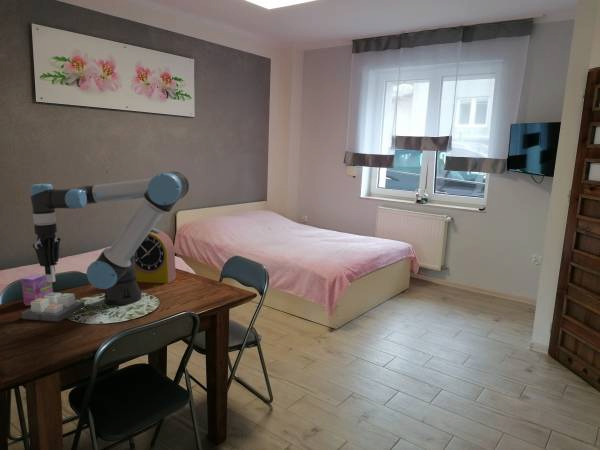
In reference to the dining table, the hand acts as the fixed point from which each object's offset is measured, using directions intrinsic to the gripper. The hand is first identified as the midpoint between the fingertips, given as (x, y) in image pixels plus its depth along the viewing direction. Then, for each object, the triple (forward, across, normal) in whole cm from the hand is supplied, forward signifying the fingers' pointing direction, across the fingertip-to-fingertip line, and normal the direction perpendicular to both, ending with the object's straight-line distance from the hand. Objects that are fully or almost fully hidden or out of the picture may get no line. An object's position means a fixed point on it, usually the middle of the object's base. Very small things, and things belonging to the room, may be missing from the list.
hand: (51, 281), depth 172 cm
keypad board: (+12, +2, +2) cm, 13 cm away
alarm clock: (+13, -45, +20) cm, 51 cm away
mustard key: (+10, +6, -1) cm, 12 cm away
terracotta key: (+12, +6, +5) cm, 14 cm away
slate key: (+10, -1, -1) cm, 10 cm away
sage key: (+10, -1, +5) cm, 11 cm away
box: (+13, -9, -14) cm, 21 cm away
